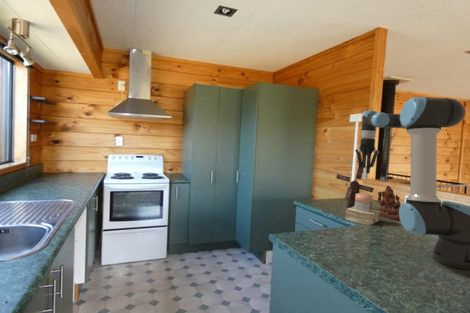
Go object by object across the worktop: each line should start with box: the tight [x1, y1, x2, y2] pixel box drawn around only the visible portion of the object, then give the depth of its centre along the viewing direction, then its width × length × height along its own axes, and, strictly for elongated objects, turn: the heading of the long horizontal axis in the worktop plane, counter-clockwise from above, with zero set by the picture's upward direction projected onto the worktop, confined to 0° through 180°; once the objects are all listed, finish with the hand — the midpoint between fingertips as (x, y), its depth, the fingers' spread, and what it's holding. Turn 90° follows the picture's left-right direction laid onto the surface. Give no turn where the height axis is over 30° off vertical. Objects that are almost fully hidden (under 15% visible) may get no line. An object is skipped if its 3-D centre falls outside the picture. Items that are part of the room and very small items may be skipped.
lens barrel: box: [354, 201, 373, 212], centre depth 167 cm, size 8×8×5 cm
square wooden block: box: [344, 206, 381, 226], centre depth 168 cm, size 14×14×6 cm
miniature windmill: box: [335, 165, 375, 209], centre depth 195 cm, size 25×11×30 cm, turn 62°
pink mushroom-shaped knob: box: [355, 192, 373, 204], centre depth 167 cm, size 9×9×9 cm
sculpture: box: [377, 185, 402, 222], centre depth 176 cm, size 17×8×20 cm, turn 22°
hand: (365, 178), depth 166 cm, fingers closed
